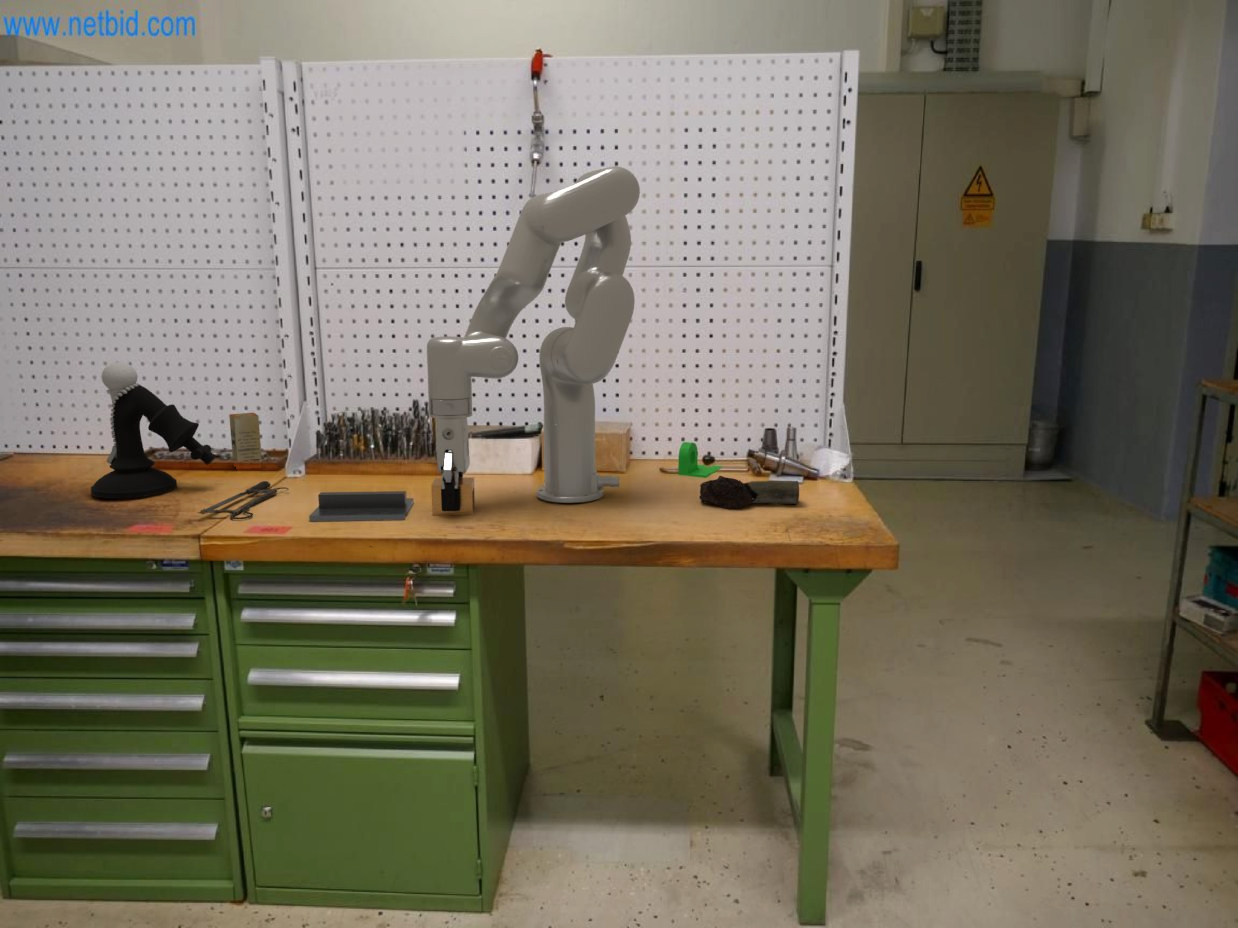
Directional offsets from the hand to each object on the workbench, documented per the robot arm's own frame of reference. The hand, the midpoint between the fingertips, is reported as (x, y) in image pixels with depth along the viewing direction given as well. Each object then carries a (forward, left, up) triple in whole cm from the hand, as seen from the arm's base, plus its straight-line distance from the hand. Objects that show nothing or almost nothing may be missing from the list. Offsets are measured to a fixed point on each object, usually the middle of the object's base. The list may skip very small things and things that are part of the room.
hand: (453, 504), depth 170 cm
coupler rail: (+16, 0, -1) cm, 16 cm away
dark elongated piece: (-59, +2, -4) cm, 59 cm away
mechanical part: (-49, -26, -2) cm, 55 cm away
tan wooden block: (0, 0, -1) cm, 1 cm away
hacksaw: (+42, -9, -1) cm, 43 cm away
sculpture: (+60, -21, -1) cm, 63 cm away
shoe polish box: (+48, -39, -1) cm, 62 cm away
